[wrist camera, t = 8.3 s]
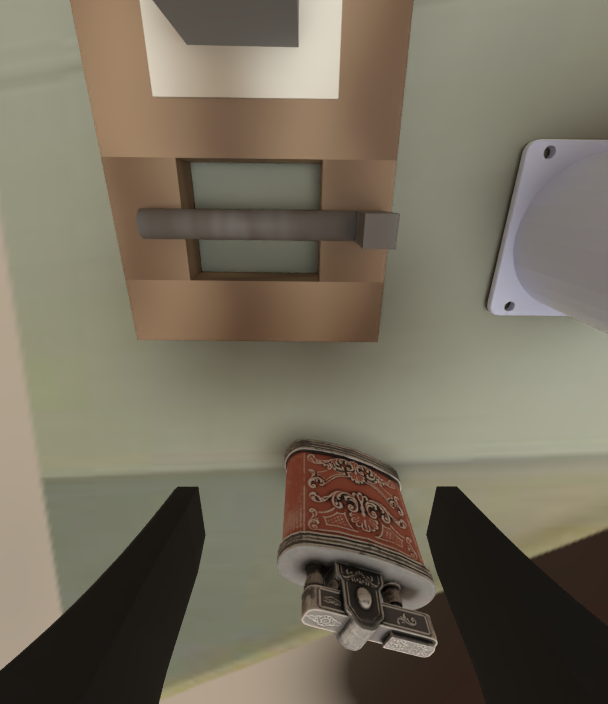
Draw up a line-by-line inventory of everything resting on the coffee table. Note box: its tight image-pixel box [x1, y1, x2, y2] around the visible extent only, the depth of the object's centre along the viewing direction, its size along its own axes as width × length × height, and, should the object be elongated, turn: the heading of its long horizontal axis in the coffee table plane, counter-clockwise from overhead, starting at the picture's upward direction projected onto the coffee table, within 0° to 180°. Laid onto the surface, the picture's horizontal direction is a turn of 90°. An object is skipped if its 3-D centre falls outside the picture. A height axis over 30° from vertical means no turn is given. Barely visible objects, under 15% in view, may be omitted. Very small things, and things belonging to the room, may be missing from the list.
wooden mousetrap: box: [70, 0, 414, 342], centre depth 13 cm, size 12×18×5 cm, turn 179°
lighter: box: [277, 439, 437, 657], centre depth 19 cm, size 8×3×10 cm, turn 67°
